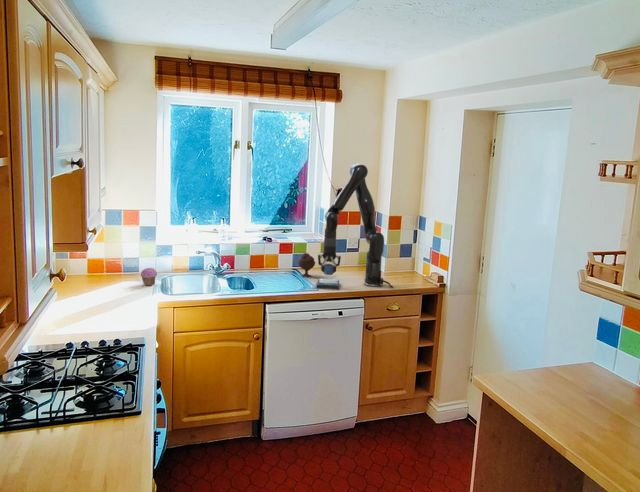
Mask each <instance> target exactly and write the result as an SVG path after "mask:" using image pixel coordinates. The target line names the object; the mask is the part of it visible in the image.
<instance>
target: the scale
mask: <svg viewBox="0 0 640 492" xmlns="http://www.w3.org/2000/svg"><path fill="white" fill-rule="evenodd" d="M316 289H322V290H339V289H340V280H339V279H333V278H319V279H317V283H316Z"/></svg>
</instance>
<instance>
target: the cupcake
mask: <svg viewBox="0 0 640 492" xmlns="http://www.w3.org/2000/svg"><path fill="white" fill-rule="evenodd" d="M157 275H158V271H157V270H156V269H155V268H153V267H147V268H144V269H142V270H141V272H140V278H141V279H142V283H143V284H144V286H148V287H149V286H153V285H155V283H156V277H157Z"/></svg>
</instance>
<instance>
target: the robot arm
mask: <svg viewBox="0 0 640 492" xmlns="http://www.w3.org/2000/svg"><path fill="white" fill-rule="evenodd" d="M368 174H369V170H368V168H367V166H366V165H364V164H362V163H354V164H353V165H351V167H350V169H349V176H350V178H349V180H348V182H347V183H346V185H345V186H344V187H343V188H342V189H341V190H340V192H339V193H338V195H336V197H335V199H334V201H333V202H332V204H331V206H330V207H329V208H328V209H327V211H326V212H325V214H324V220H325V222H326V223H325V229H324V238H323V250H322V254H320V253H319V254H318V255H317V261H318V265H319V266H320V267H321V269H320V271H321V272H322V273H323V271H324V264H326V262H327V263H328V262H330V263H332V265H334V274H335V273H336V272H337V267H339V266H340V264H341V259H342V256H341V255H337V229H338V224H339V217H338V216H339V214H340V213H341V212H342V211H343V210H344V209H345V207H346V205H347V204H348V202H349V201H350V199H351V197H352V196H353V194H354V192H355V196H356V200H357V205H358V210H359V213H360V217H361V221H362V225H363V229H364V230H363V231H364V237H365V241H366V242H367V244H368V245H369V248H368V251H366V259H365V278H364V285H365V286H368V287H381V285H384V283H385V284H387V285H388V286H389V287H390V288H394V285H392V284H391V283H390V282H389V281H387V280H384V277H382V261H383V260H382V256H383V253H384V247H385V236H384V235H383V233H381V231H380V232H379V231H378V229H377V226H376V221H375V218H376V217H375V216H376V206H375V202H374V199H373V196H372V194H371V192H370V190H369V188H368V185H367V182H366V178H367V176H368ZM322 258H323V261H322V262H321V259H322ZM336 259H337V263H336Z"/></svg>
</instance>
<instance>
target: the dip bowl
mask: <svg viewBox="0 0 640 492" xmlns="http://www.w3.org/2000/svg"><path fill="white" fill-rule="evenodd" d="M322 273H323V274H324V275H326V276H332V275H334V274H335V273H334V264H333V263H325V264H324V271H323V272H322Z"/></svg>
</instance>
